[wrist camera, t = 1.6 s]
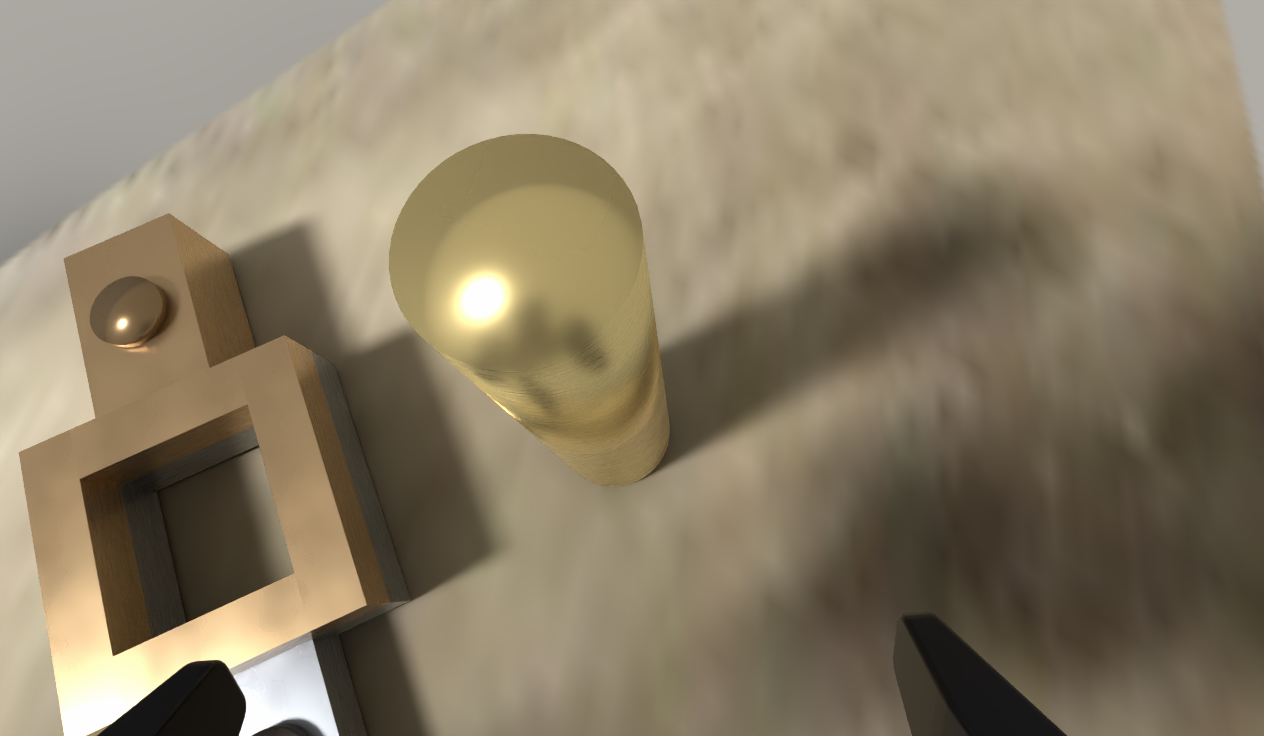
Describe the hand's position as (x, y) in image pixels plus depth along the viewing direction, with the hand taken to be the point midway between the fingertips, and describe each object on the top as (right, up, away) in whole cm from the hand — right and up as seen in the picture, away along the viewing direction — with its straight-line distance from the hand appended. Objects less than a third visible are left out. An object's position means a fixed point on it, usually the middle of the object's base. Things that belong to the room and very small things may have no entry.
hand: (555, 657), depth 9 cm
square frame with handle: (-11, -3, +12) cm, 16 cm away
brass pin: (0, +2, +13) cm, 13 cm away
